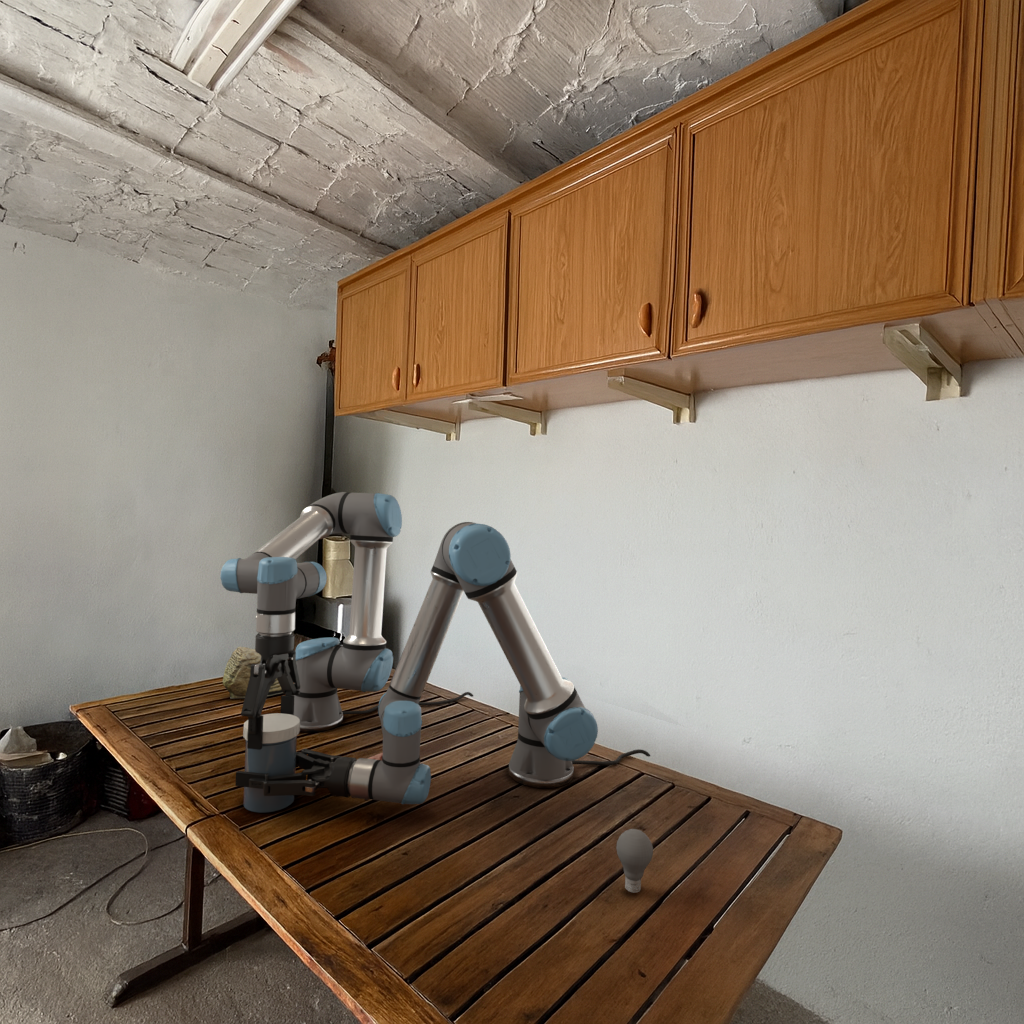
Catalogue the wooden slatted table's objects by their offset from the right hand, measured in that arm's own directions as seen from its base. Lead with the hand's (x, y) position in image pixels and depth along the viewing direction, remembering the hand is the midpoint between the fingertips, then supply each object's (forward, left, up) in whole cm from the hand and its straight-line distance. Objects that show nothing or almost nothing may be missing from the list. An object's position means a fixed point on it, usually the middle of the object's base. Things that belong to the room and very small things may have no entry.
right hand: (250, 767), depth 131 cm
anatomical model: (-26, -8, -7) cm, 28 cm away
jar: (-4, +2, -7) cm, 8 cm away
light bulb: (-63, +48, -7) cm, 79 cm away
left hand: (-4, +2, +7) cm, 8 cm away
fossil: (+4, -71, -7) cm, 72 cm away
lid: (-4, +2, +10) cm, 10 cm away
